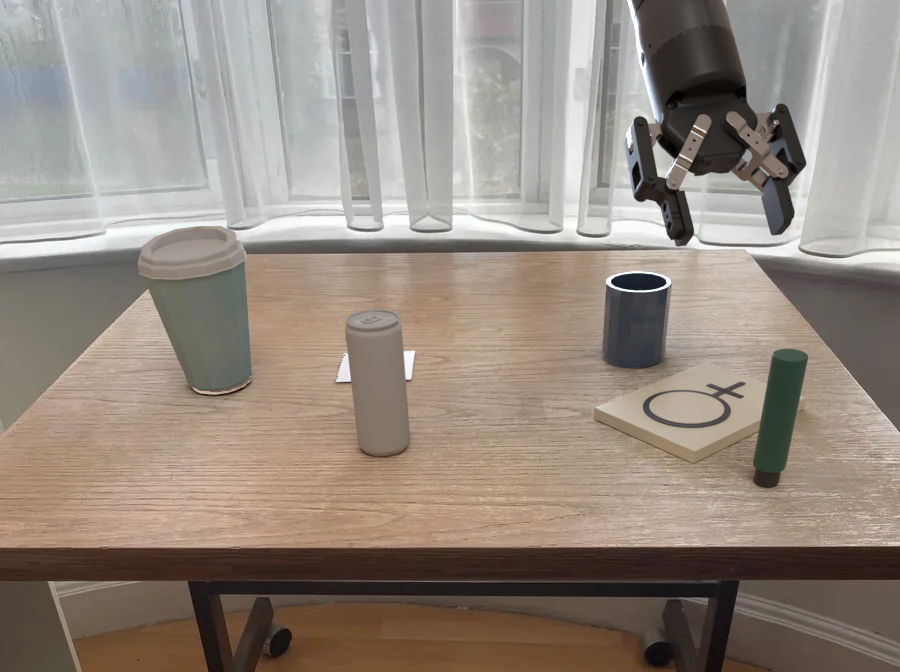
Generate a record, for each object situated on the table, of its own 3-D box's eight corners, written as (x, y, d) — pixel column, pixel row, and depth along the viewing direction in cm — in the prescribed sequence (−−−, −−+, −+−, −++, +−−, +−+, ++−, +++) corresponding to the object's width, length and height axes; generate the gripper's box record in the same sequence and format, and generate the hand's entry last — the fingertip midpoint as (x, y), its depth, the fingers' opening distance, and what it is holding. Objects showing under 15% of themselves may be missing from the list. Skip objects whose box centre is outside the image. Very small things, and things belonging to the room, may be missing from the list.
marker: (762, 470, 76) (786, 345, 70) (788, 482, 75) (815, 354, 68) (743, 481, 75) (765, 354, 68) (769, 492, 73) (794, 364, 67)
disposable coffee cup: (258, 404, 91) (229, 252, 82) (154, 407, 92) (115, 256, 83) (277, 363, 100) (254, 221, 91) (182, 366, 100) (149, 225, 91)
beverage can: (421, 445, 83) (412, 316, 75) (382, 464, 80) (368, 332, 73) (387, 429, 86) (375, 304, 78) (347, 447, 83) (332, 319, 76)
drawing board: (703, 372, 93) (705, 359, 92) (804, 409, 85) (807, 395, 84) (593, 419, 85) (594, 405, 85) (693, 463, 78) (695, 449, 77)
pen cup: (630, 340, 101) (636, 267, 96) (676, 356, 97) (685, 281, 92) (588, 355, 98) (592, 281, 93) (634, 373, 94) (640, 296, 89)
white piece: (411, 379, 94) (410, 372, 94) (335, 382, 95) (334, 374, 94) (415, 350, 101) (414, 343, 100) (344, 353, 101) (343, 346, 101)
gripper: (622, 27, 70) (670, 218, 68) (788, 15, 72) (839, 199, 70) (594, 95, 77) (636, 269, 75) (745, 82, 80) (790, 250, 78)
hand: (734, 235), depth 73 cm, fingers open, 8 cm apart
